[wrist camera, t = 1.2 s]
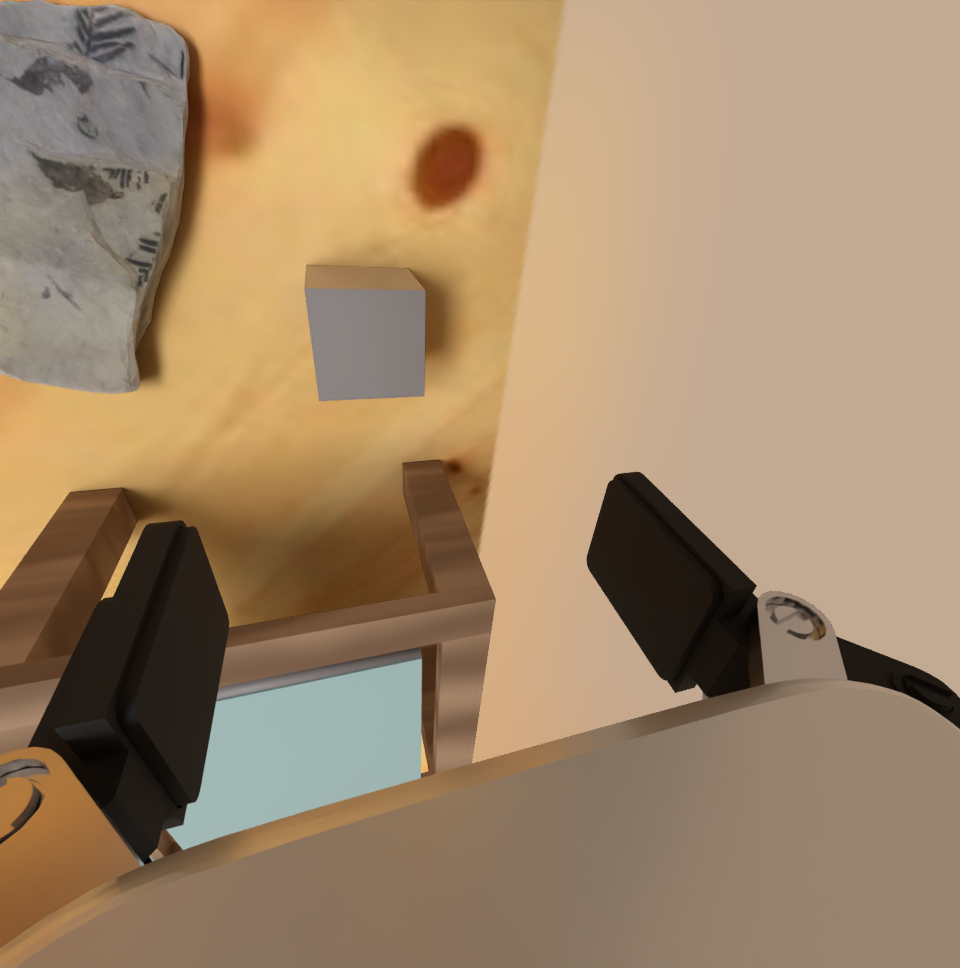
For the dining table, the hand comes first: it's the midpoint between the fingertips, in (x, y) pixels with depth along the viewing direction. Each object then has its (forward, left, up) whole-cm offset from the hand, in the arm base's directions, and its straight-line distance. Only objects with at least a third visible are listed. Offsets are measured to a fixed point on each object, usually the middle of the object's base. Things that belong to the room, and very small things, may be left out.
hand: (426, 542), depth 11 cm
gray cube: (0, 0, -18) cm, 18 cm away
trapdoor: (+20, -6, -6) cm, 22 cm away
